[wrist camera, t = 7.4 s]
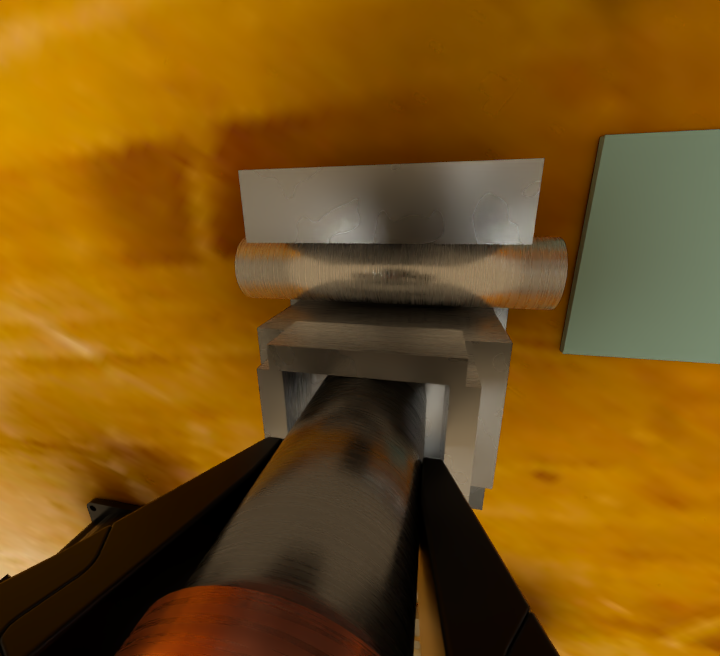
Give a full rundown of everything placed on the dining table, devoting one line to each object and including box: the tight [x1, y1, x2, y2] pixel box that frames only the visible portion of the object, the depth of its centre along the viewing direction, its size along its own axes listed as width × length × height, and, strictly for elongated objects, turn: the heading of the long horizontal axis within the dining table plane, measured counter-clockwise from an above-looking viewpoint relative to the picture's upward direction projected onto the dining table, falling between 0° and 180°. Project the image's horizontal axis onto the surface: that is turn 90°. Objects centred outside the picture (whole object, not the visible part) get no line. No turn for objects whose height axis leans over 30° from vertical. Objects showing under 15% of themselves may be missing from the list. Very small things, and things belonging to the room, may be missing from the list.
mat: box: [560, 129, 720, 364], centre depth 12 cm, size 8×8×1 cm
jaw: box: [257, 300, 513, 502], centre depth 12 cm, size 6×8×6 cm
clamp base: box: [235, 158, 568, 510], centre depth 14 cm, size 15×11×5 cm
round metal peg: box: [114, 375, 427, 656], centre depth 6 cm, size 4×4×9 cm
